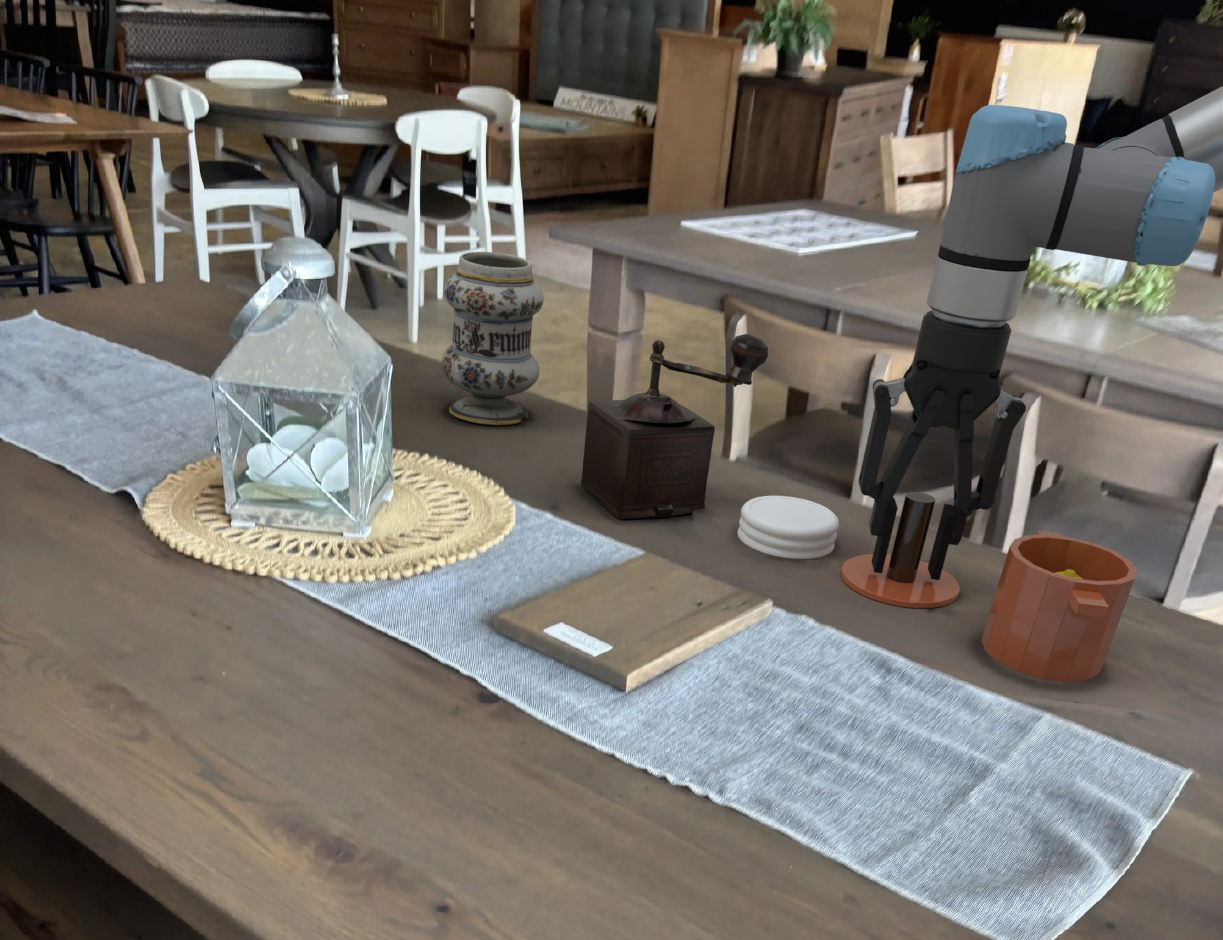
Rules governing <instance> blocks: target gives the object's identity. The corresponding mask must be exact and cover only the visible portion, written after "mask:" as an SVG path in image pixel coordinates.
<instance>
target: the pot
mask: <svg viewBox="0 0 1223 940" xmlns="http://www.w3.org/2000/svg"><path fill="white" fill-rule="evenodd" d="M1067 569H1071V570H1074V571H1075V573H1076V575H1078V576H1080V577H1081V578H1082V579H1075V578H1071V577H1067V576H1063V575H1059V574H1056V573H1055V572H1062V571H1066V570H1067ZM1137 574H1138V569H1137V568H1136V566H1135V565H1134V564H1133V562H1132V561H1131V560H1130V559H1128V558H1126V557H1125V556H1123V554H1120V553H1119V552H1117V551H1116V550H1113V549H1110V548H1108V547H1106V546H1103V545H1100V544H1098V543H1095V542H1092V541H1087V540H1084V539H1079V538H1075V537H1070V536H1065V535H1064V533H1061V532H1053V531H1043V530H1036V531H1035V534H1027V535H1023V536H1020V537H1017V538H1014V539H1013V541H1012V542H1011V544H1010V545H1009V547H1008V550H1007V554H1006V557H1005V561H1004V564H1003V567H1002V570H1001V574H1000V577H999V580H998V583H997V587H996V591H995V594H994V597H993V600H992V604H991V607H990V610H989V613H988V616H987V620H986V624H985V627H984V630H983V634H982V636H981V637H982V638H981V640H980V641H981V644H982V646H983V649H984V651H985V652H986V654H988V655H989V656H990V657H991V658H993V659H994V660H995V661H996V662H998V663H999V664H1001V665H1004V666H1005V667H1007V668H1010V669H1012V670H1014V671H1016V672H1019V673H1021V674H1024V675H1028V676H1031V677H1034V678H1035V677H1036V678H1038V679H1041V680H1046V681H1047V680H1049V681H1056V682H1065V683H1070V682H1071V683H1072V682H1083V681H1088V680H1091V679H1093V678H1095V677H1097V676H1099V675H1100V674H1101V672H1102V669H1103V666H1104V664H1105V660H1106V658H1107V655H1108V652H1109V650H1110V647H1111V644H1112V641H1113V640H1114V637H1115V634H1116V631H1117V628H1118V626H1119V623H1120V620H1121V618H1122V615H1123V612H1124V610H1125V607H1126V604H1127V601H1128V598H1129V596H1130V593H1131V590H1132V588H1133V586H1134V583H1135V580H1136V577H1137Z"/></svg>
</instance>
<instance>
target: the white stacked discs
mask: <svg viewBox="0 0 1223 940" xmlns="http://www.w3.org/2000/svg"><path fill="white" fill-rule="evenodd" d="M740 515H741V516H740V518H739V520H738V523H739V527H738V529H737V537H738V539H739V540H740V541H741V542H742V543H743V544H745V545H746V546H748V547H749V548H751V549H753V550H755V551H758V552H761V553H762V554H767V555H771V556H773V557H779V558H785V559H792V560H811V559H818V558H823V557H826V556H828V555H829V554H831V553H832V552H833V551H834V549H835V547H836V545H835V543H836V540H837V537H838V533H837V531H838V530H839V527H840V521H839V518H838V516H837V515H836V514H835V512H834V511H832V510H831V509H830V508H828V507H826V506H824V505H822V504H820V503H818V502H815V501H811V500H808V499H804V498H801V497H800V498H799V497H795V496H789V495H788V496H787V495H762V496H757V497H754V498H751V499H749V500H747V501H746V502H745V503H744V504H743V505H742V507H741V509H740Z"/></svg>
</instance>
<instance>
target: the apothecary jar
mask: <svg viewBox="0 0 1223 940" xmlns="http://www.w3.org/2000/svg"><path fill="white" fill-rule="evenodd" d="M443 294H444V295H443V296H444V299H445V300H446V303H448V305H449V306H450V307H452V309H453V322H452V323H453V327H452V340H451V345H449V347H447V348H446V350H444V352H443V354H442V356H441V359H440V366H441V367H440V368H441V370H442V373H443V374H444V376H445V378H447V380H448V381H449V382H450V383H451V384H453V385H454V386H455V387H457V388H459V389H461V390H462V391H464V392H467V393H469V394H471V395H469V396H466V397H465V396H464V397H462V398H461V399H457V400H455V401H453V402H452V403H451V404H450V406H449V407H448V411H449V413H450V415H451V416H453V417H454V418H456V419H458V420H461V421H464V422H466V423H471V424H478V425H484V426H512V425H517V424H520V423H522V420H527V419H528V417H529V413H528V411H527V410H526V409H525V408H524V407H523V406H521V405H519V404H517V403H516V402H515V401H513V400H511V399H509V398H506V397H508V396H509V397H510V396H514V395H517V394H521V393H524V392H526V391H528V390H530V388H532V387H533V386H534V385H535V384H536V383H537V381H538V379H539V377H540V366H539V363H538V361H537V359H536V358H535V357H534V355H533V354H532V353H531V352H532V351H531V350H532V328H533V320H534V316H535V315H536V314H538V312H540V311H541V309H542V308H543V305H544V301H545V297H544V293H543V291H542V288H541V287H540V286H539V284H538V283H537V282H536V281H535V280H534V276H533V265H532V262H531V261H530V260H528V259H526V258H524V257H521V256H517V255H513V254H508V253H502V252H495V251H494V252H492V251H470V252H465V253H462V254H461V255H459V259H458V266H457V268H456V272H455V273H454V274H453V275H451V276H450V277H449V278H448V279H447V280H446V282H445V284H444V288H443Z"/></svg>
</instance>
